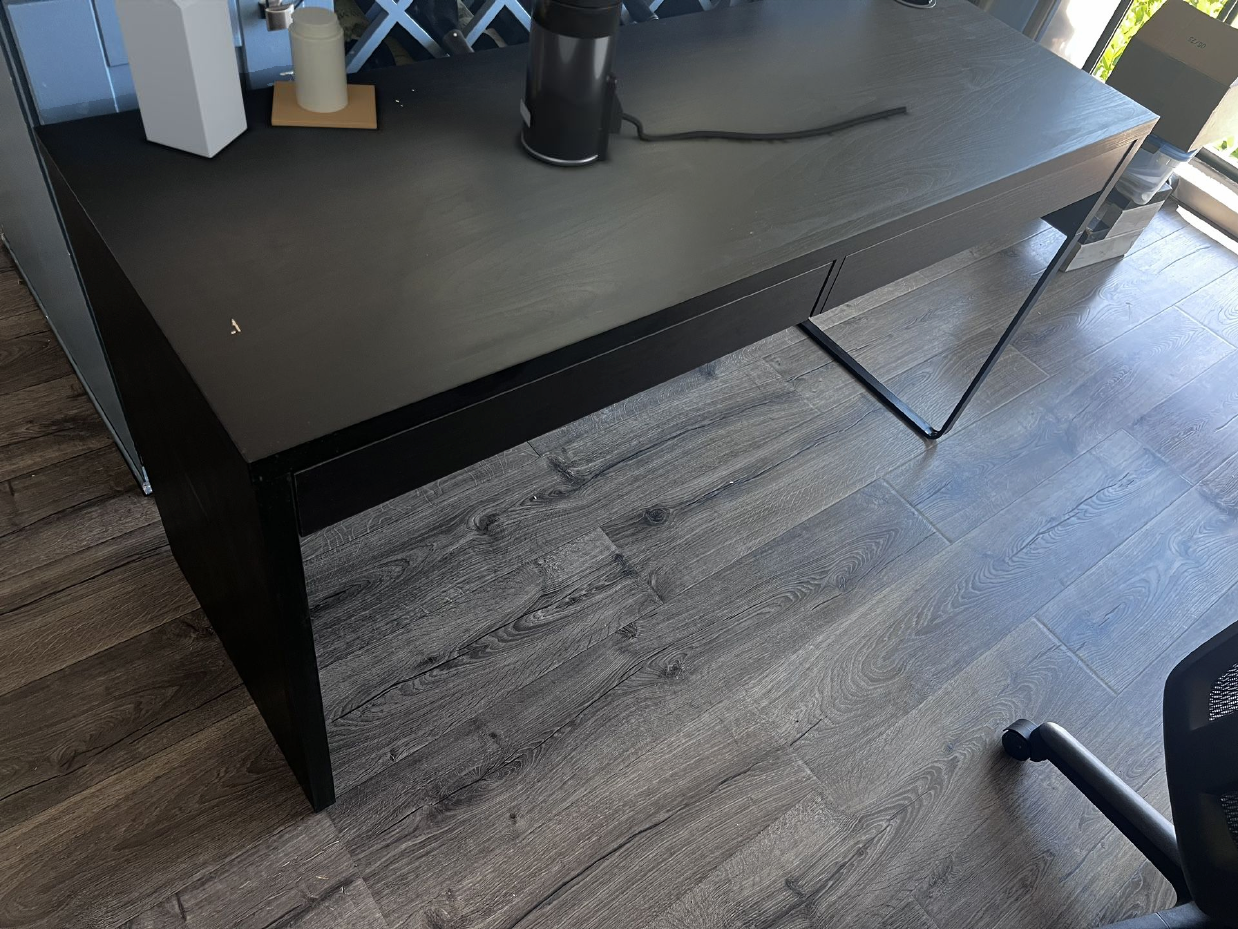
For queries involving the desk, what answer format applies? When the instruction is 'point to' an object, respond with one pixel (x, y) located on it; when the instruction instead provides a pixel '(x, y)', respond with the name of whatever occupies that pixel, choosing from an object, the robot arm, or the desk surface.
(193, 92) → the milk carton
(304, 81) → the jar
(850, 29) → the desk surface
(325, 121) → the mat
